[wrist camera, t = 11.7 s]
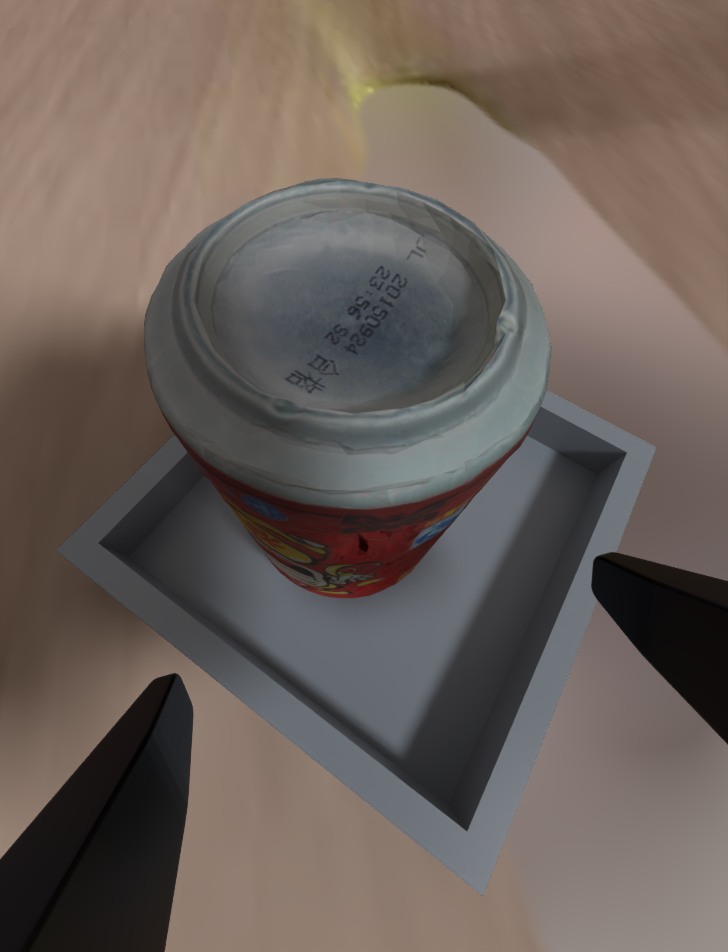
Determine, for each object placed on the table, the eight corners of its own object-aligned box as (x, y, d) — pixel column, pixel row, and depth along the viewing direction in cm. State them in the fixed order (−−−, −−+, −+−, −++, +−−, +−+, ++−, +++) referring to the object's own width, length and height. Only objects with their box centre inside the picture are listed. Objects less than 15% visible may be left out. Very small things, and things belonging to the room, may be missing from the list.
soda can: (230, 560, 16) (-2, 353, 5) (311, 428, 19) (273, 110, 8) (387, 637, 15) (512, 589, 4) (447, 487, 18) (618, 222, 7)
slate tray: (612, 475, 20) (656, 447, 17) (454, 847, 14) (482, 896, 11) (334, 323, 23) (333, 278, 20) (102, 567, 17) (55, 550, 14)
